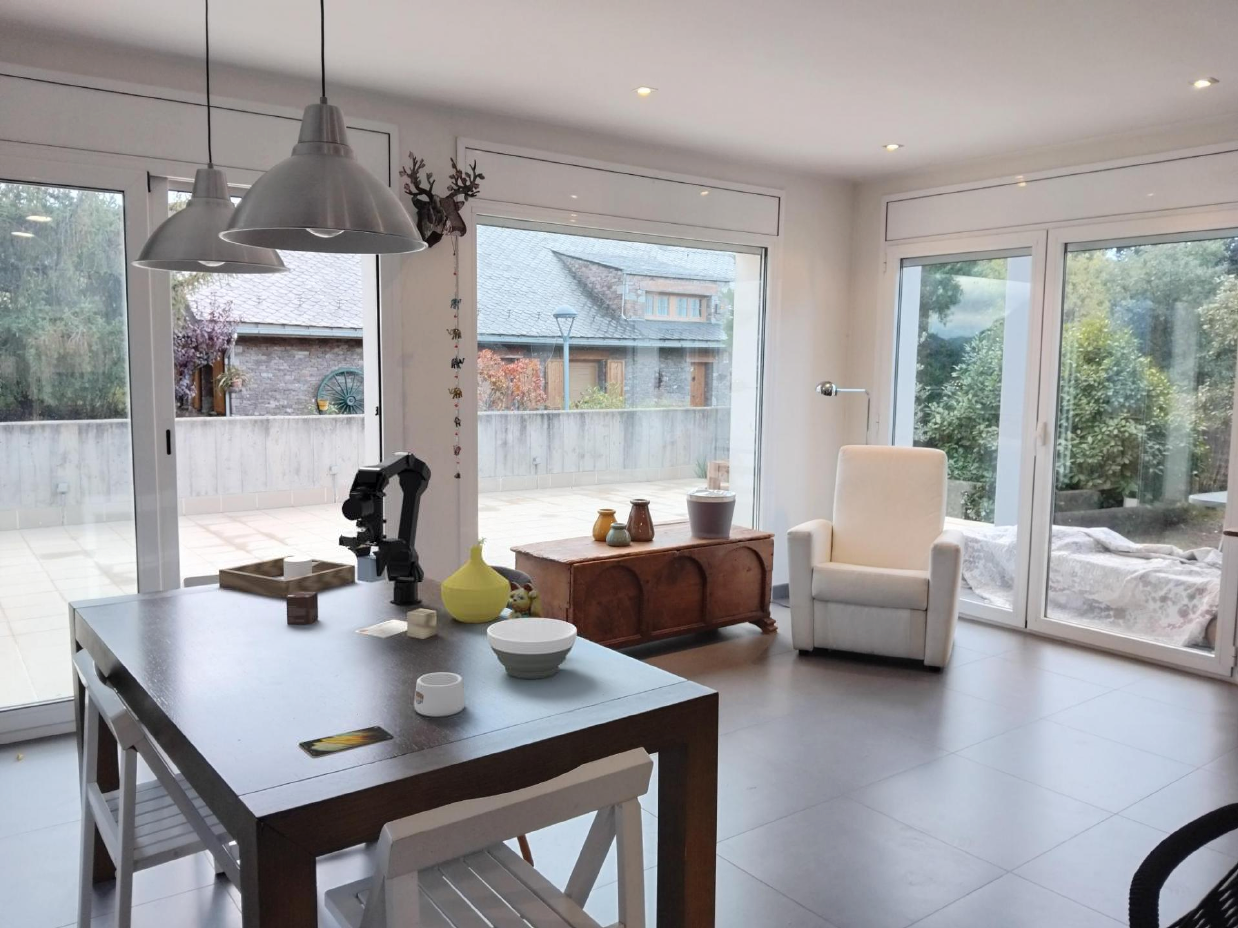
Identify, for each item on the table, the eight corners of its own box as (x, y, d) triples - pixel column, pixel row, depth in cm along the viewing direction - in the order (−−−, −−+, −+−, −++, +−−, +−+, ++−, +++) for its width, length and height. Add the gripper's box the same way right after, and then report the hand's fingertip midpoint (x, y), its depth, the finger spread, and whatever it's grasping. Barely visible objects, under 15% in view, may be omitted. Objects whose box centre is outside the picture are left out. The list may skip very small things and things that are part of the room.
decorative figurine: (500, 643, 229) (500, 582, 228) (518, 635, 237) (518, 576, 235) (535, 649, 225) (535, 586, 224) (552, 640, 233) (553, 580, 231)
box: (318, 619, 249) (318, 591, 248) (309, 625, 243) (308, 597, 242) (296, 618, 249) (296, 590, 248) (286, 624, 243) (285, 596, 242)
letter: (393, 619, 249) (393, 619, 249) (422, 625, 244) (422, 624, 244) (353, 631, 237) (353, 631, 237) (384, 638, 232) (384, 637, 232)
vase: (503, 608, 264) (503, 539, 262) (517, 624, 246) (517, 552, 245) (436, 612, 258) (436, 542, 256) (446, 629, 241) (446, 555, 239)
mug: (474, 711, 184) (474, 680, 183) (428, 721, 178) (428, 690, 177) (444, 694, 193) (444, 665, 193) (400, 703, 187) (399, 673, 187)
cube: (371, 577, 251) (371, 554, 251) (385, 579, 249) (385, 556, 248) (357, 580, 247) (357, 557, 246) (371, 582, 244) (371, 559, 244)
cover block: (420, 631, 239) (420, 608, 238) (436, 634, 236) (436, 610, 236) (407, 636, 234) (407, 612, 234) (423, 639, 232) (422, 615, 231)
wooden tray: (291, 570, 307) (290, 555, 306) (355, 581, 293) (354, 565, 293) (219, 586, 283) (219, 569, 283) (285, 598, 270) (284, 581, 269)
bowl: (554, 691, 196) (554, 646, 195) (470, 679, 203) (470, 635, 202) (589, 664, 214) (590, 623, 213) (511, 654, 221) (512, 614, 220)
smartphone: (395, 737, 170) (312, 756, 160) (395, 740, 170) (312, 760, 160) (378, 724, 175) (297, 742, 166) (378, 728, 175) (297, 746, 166)
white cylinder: (343, 585, 289) (343, 559, 289) (283, 595, 275) (283, 567, 275) (310, 575, 303) (310, 549, 302) (251, 584, 289) (251, 557, 288)
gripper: (322, 515, 244) (322, 575, 246) (374, 522, 235) (374, 584, 236) (355, 511, 254) (355, 569, 255) (406, 517, 244) (406, 577, 245)
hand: (371, 575), depth 248 cm, fingers closed on cube, 5 cm apart
